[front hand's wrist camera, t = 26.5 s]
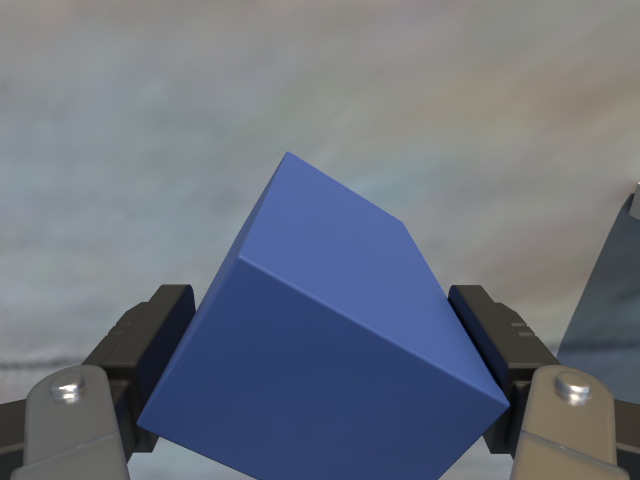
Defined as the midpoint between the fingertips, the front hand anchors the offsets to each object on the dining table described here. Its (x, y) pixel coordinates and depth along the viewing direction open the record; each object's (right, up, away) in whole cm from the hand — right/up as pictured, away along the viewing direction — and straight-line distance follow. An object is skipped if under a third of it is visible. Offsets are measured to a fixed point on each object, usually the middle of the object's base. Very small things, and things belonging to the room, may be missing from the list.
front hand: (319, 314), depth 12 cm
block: (0, +3, +6) cm, 7 cm away
